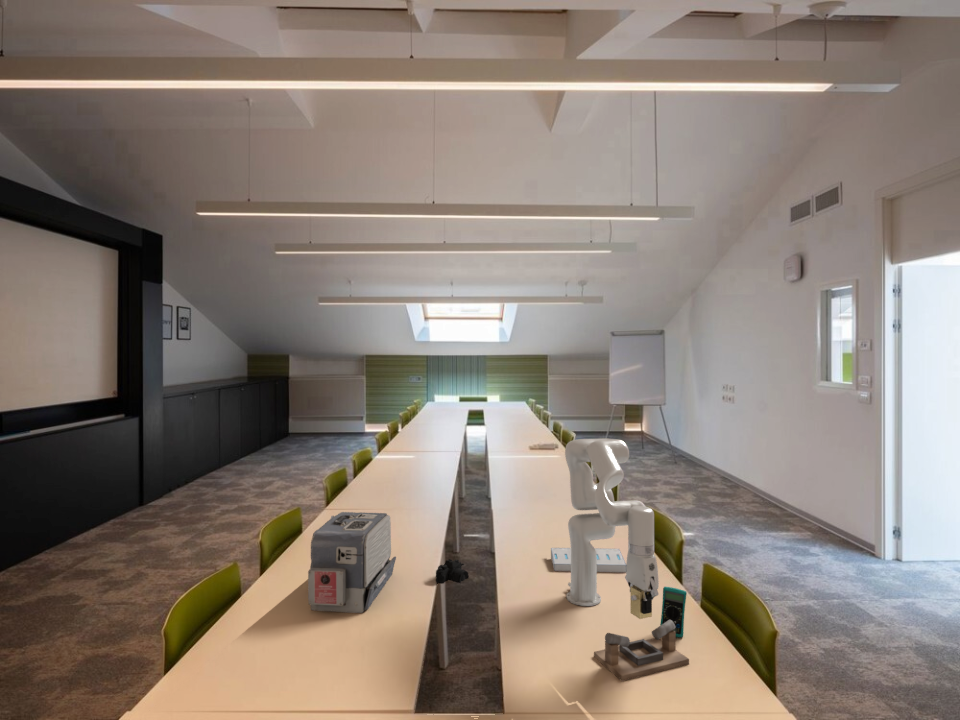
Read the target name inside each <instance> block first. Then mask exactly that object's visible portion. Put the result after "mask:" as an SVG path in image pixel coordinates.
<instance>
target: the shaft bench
mask: <svg viewBox="0 0 960 720" xmlns="http://www.w3.org/2000/svg"><path fill="white" fill-rule="evenodd" d="M675 628H676V626H675V624H674V622H673V621H672V620H668V621H667V622H665V623H664V624H662V625H661V626H660V625H659V626H658V627H656V628H654V629H653V630H651V635H652V636H653V638H649V639H644V638H642V639H638V640H634V641H631V640H630V638H629V636H625V635H620V634H617V633H611V632H606V634H605V635H604V639H605V640H604V649H601V650H596V651H593V657H594V658H595V659H596V660H597V661H598V662H599V663H600V664H602V665H603V666H604V667H605V668H606V669H607V670H609V671H610V672H611V673H612V674H613V675H615V677H616V678H618V679H619V680H620V681H621V682H624V681H628V680H632V679H636V678H640V677H643V676H647V675H652V674H655V673H659V672H662V671H667V670H671V669H674V668H675V669H676V668H679V667H682V666H686V665H690V659H689V658H688V657H687V656H686V655H684V654H683V653H681V652H680V651H679V650H677V649H676V646H677V644H676V638H677V637H676V632H675V631H674V630H673V629H675Z"/></svg>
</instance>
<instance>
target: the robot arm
mask: <svg viewBox="0 0 960 720" xmlns="http://www.w3.org/2000/svg"><path fill="white" fill-rule="evenodd" d="M564 456H565V457H564V458H565V462H566V464H567V467H568V470H569V483H570V484H569V486H570V487H569V488H570V499H571V500H570V501H571V506H572V507H573V509H575V510H576V511H594V510H596V511H598V512H595V513H594V512H593V513H579V514H574V515H573V516H571V517H570V518H569V519H568V522H567V523H568V524H567V526H568V527H567V528H568V533H569V543H570V548H571V571H570V582H568V583H567V586H568V587H569V589H570V590H569V592H567V593H566V600H567V601H568V602H570V603H571V604H573V605H575V606H580V607H592V606H596V605H597V606H598V604H600V603H601V601H602V597H601V595H600V594H599V593H598V592H597V588H598V585H597V584H598V583H597V579H598V578H597V575H598V572H597V553H596V550H595V548H596V547H595V546H593V544H592V543H591V541H596V540H597V541H598V540H608V539H612V538H613V537H614V535H615V533H616V527H624V526H628V527H627V528H628V531H627V534H628V535H627V536H628V537H627V540H628V542H627V545H628V547H627V549H628V550H627V557H626V562H625V563H626V572H625V573H626V574H625V575H624V578H625V580H626V582H627V584H628V587H629V593H630V594H631V586H636V587H638V588H640V589H642V594H643V600H642V613H643V614H647V613H651V612H652V613H653V600H654V598H655V597H657V596H659V591H658V590H659V582H660V581H659V569H658V563H657V562H658V561H657V558H656V555H655V512H654V510H653V509H652V508H651V507H648V506H646V505H645V504H644V503H643V501H640V500H636V499H635V500H634V499H632V500H630V499H629V500H616V501H615V497H614V493H613V490H612V489H613V488H615V487H617V486H618V485H619V484H620V483H621V482H622V481H623V480H624V477H625V473H624V471H623V469H622V467H621V465H620V464H625V463H626V462H628V461H629V458H630V450H629V447H628V445H627V444H626V442H624V440H622V439H616V438H606V437H605V438H580V439H573V440H570V441H568V442H567V444H566V445H565V452H564ZM588 463H591V466H592V468H593V470H594V472H595V474H596V476H597V478H598V481H599V482H598V483H594V476H593V470H592V468H591V467H590V465H589V464H588ZM646 592H649V594H648V595H647V594H646Z"/></svg>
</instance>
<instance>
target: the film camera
mask: <svg viewBox="0 0 960 720" xmlns="http://www.w3.org/2000/svg"><path fill="white" fill-rule="evenodd" d="M462 566H465V564H464V563H462V562H460V560H459V559H454V560H453V559H450V558H449V559H446V560H445V562H444V564H440V565H438V566H437V569H436V570H435V583H436V584H441V585H443V584H445V583H446V582H448V581H451V582H454V583H458V584H461V583H462V582H464V581H465V580H469V576H470V575H469V572H468V571H466V570H465V569H462Z"/></svg>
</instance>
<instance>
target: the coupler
mask: <svg viewBox="0 0 960 720" xmlns="http://www.w3.org/2000/svg"><path fill="white" fill-rule="evenodd" d="M646 594H647V595H648V594H649V592H646ZM642 600H643V594H642V589H640V588H638V587H636V586H631V593H630V614H632V615H633V616H635V617H636V618H637V619H639V620H643V619H647V618H651V617H652V616H653V611H652V612H651V613H647V614H643V613H642Z"/></svg>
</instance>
